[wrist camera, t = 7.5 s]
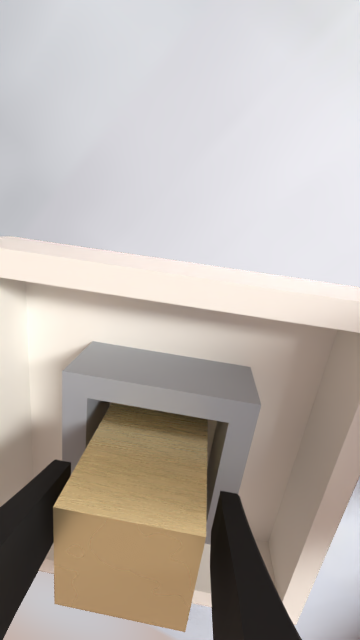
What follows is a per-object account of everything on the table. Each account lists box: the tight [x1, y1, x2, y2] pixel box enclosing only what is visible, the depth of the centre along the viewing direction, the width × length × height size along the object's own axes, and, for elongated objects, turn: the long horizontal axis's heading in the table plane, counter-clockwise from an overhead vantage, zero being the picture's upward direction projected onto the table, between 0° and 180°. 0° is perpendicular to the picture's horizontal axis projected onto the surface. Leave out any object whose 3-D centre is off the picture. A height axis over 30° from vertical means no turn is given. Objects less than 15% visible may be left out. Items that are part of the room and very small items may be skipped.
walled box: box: [0, 236, 360, 625], centre depth 14 cm, size 16×16×4 cm
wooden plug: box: [53, 403, 208, 632], centre depth 11 cm, size 4×4×7 cm
